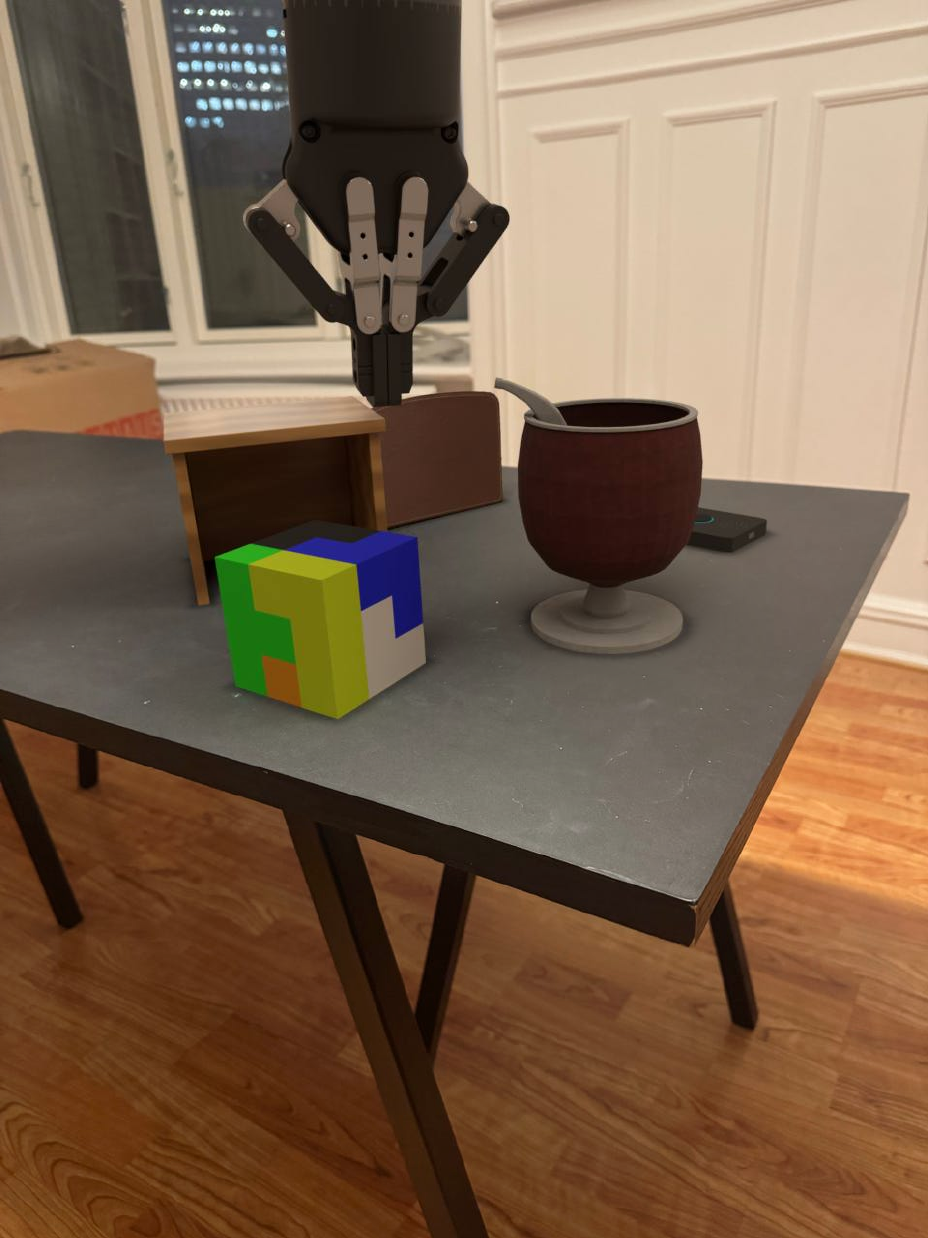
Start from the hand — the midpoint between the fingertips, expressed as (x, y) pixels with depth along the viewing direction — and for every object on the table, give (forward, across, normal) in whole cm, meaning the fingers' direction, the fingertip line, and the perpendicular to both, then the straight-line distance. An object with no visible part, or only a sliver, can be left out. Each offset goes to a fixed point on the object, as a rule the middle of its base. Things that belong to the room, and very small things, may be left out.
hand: (382, 402), depth 46 cm
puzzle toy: (+24, +2, -10) cm, 26 cm away
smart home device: (+26, -39, -32) cm, 56 cm away
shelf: (+28, +1, -36) cm, 46 cm away
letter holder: (+30, -16, -50) cm, 61 cm away
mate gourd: (+24, -20, -11) cm, 33 cm away
